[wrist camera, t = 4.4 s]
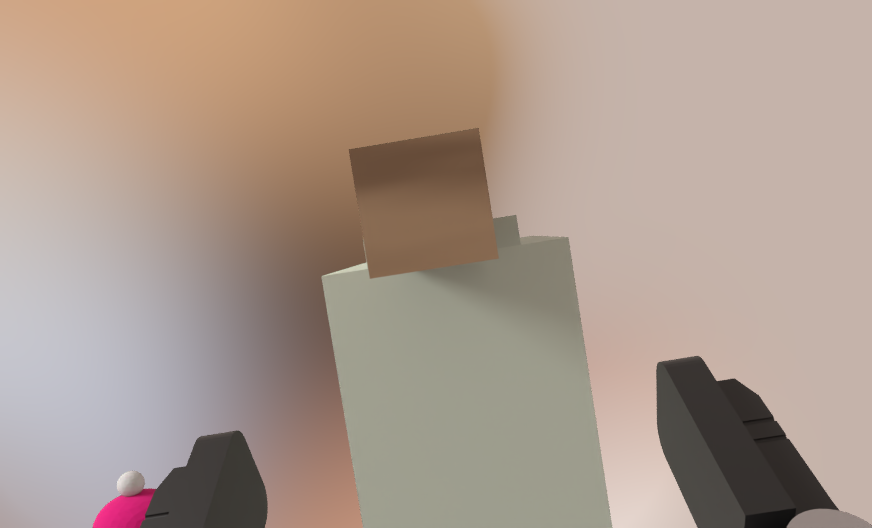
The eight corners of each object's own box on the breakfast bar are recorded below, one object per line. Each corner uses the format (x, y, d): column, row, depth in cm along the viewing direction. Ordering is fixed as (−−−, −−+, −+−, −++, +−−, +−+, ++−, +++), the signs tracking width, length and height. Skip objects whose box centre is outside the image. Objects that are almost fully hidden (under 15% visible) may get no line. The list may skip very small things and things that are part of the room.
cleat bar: (499, 258, 18) (478, 127, 18) (369, 278, 18) (348, 149, 18) (479, 244, 41) (470, 187, 41) (421, 253, 41) (412, 196, 41)
